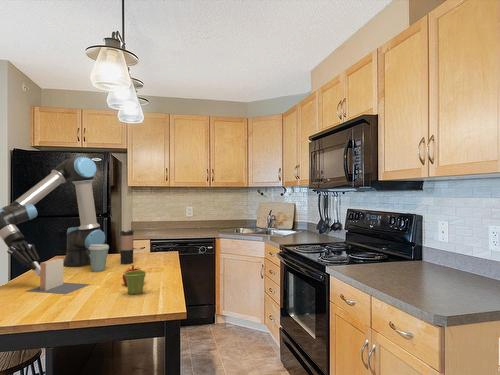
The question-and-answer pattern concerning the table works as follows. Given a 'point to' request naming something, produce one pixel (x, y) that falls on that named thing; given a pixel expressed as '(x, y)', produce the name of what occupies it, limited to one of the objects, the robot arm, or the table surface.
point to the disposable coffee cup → (98, 256)
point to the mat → (60, 288)
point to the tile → (51, 274)
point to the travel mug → (126, 247)
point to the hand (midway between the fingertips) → (41, 273)
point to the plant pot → (135, 281)
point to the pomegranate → (129, 271)
